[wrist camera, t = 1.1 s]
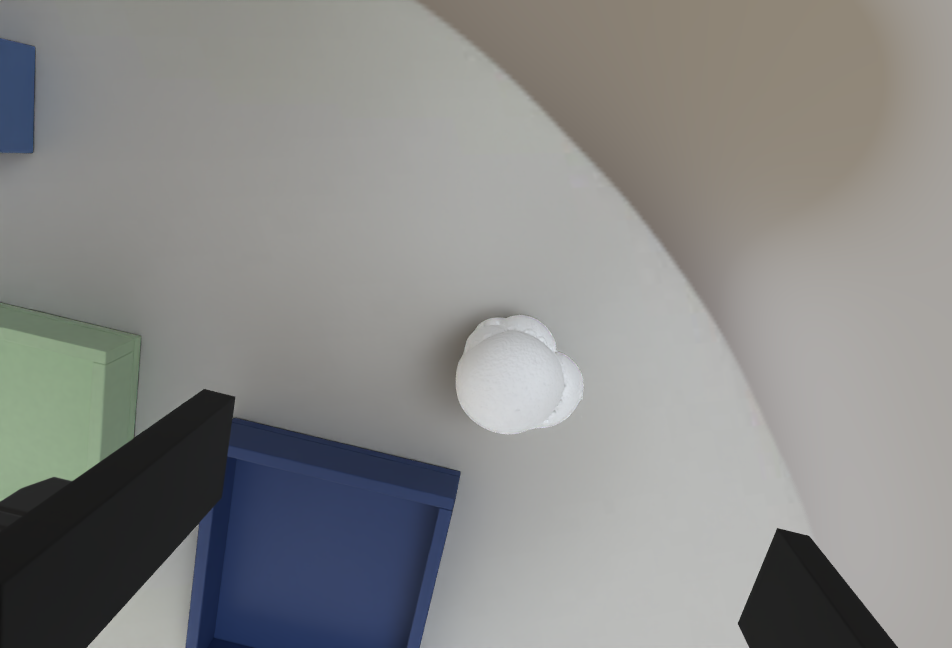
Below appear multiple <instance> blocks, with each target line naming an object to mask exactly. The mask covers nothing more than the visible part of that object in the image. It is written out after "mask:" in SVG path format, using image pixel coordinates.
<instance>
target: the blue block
mask: <svg viewBox="0 0 952 648" xmlns="http://www.w3.org/2000/svg"><path fill="white" fill-rule="evenodd" d="M34 80H35V47H34V46H31V45H27V44H23V43H19V42H14V41H10V40H6V39H2V38H0V153H33V130H34Z"/></svg>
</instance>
